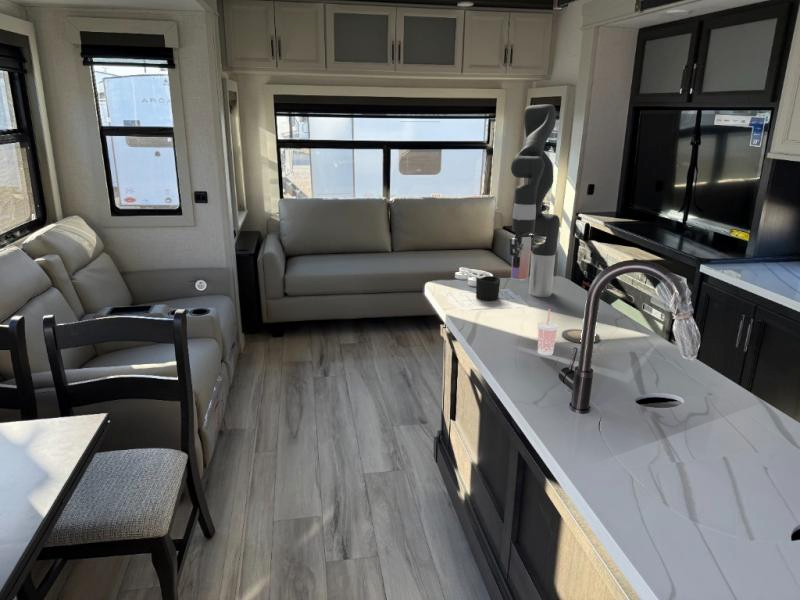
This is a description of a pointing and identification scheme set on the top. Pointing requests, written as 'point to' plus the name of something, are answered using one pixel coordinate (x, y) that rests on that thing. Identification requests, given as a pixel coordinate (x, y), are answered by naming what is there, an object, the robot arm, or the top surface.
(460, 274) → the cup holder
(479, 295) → the pen holder
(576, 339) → the coaster
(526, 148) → the robot arm
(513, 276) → the beverage can
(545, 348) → the beverage cup
